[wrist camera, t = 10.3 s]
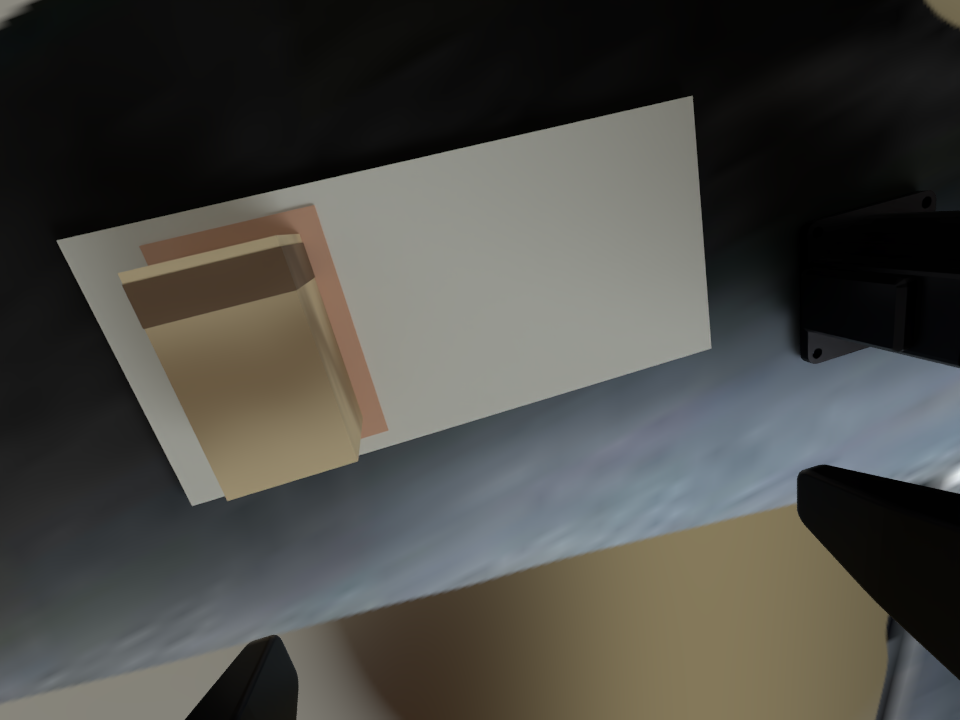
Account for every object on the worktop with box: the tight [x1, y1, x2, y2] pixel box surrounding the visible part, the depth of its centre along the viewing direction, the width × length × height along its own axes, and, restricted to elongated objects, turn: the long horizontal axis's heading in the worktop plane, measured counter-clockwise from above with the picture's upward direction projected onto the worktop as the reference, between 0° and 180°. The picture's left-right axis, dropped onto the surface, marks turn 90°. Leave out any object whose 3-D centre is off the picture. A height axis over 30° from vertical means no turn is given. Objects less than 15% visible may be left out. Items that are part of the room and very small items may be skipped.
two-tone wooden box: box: [118, 234, 363, 501], centre depth 15 cm, size 7×4×4 cm, turn 13°
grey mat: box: [57, 96, 711, 506], centre depth 17 cm, size 22×10×1 cm, turn 103°
